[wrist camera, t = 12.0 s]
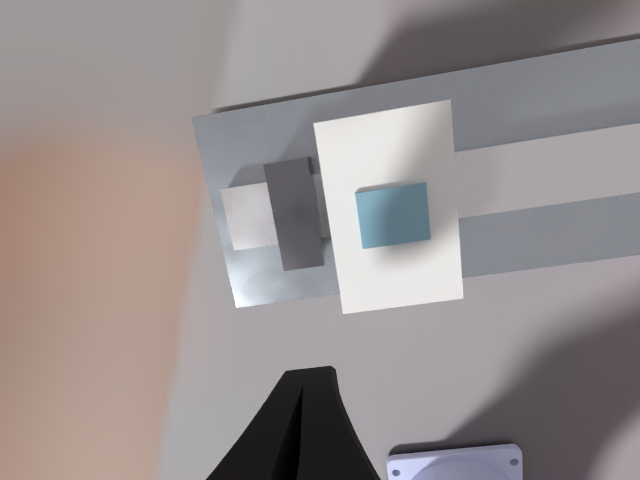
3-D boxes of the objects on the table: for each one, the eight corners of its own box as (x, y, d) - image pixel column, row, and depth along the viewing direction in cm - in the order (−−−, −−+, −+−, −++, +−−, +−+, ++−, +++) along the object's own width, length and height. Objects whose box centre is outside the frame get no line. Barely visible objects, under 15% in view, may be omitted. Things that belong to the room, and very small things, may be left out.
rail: (740, 239, 17) (835, 258, 14) (237, 305, 19) (218, 336, 15) (773, 16, 14) (899, -24, 11) (193, 118, 16) (160, 109, 13)
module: (426, 258, 17) (465, 300, 12) (340, 270, 18) (343, 316, 13) (414, 116, 16) (453, 98, 11) (319, 133, 16) (312, 122, 11)
